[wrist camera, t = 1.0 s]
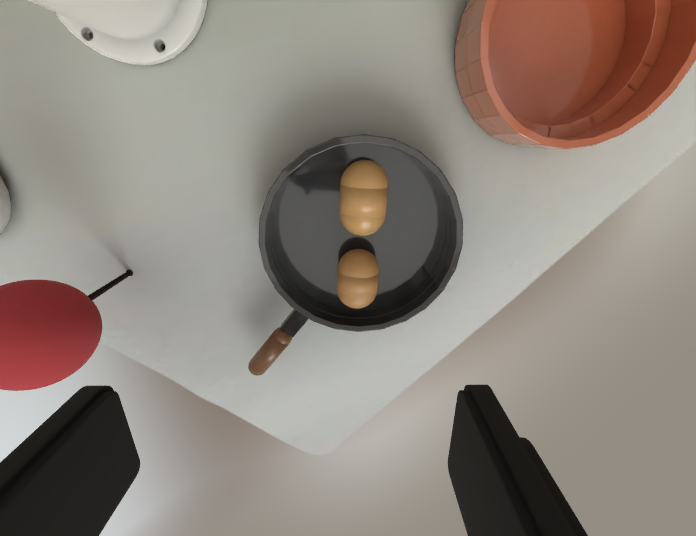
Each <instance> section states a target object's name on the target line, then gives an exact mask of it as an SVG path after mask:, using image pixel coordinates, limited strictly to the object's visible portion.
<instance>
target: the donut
mask: <svg viewBox="0 0 696 536" xmlns="http://www.w3.org/2000/svg"><path fill="white" fill-rule="evenodd" d="M11 209H12V206H11V201H10V196H9V192H8V189H7V188H6V186H5V184H4V182H3V180H2V178H1V176H0V233H1V232H2V231H3V229H4V228H5V227H6V225H7V224H8V222H9V221H10V215H11Z"/></svg>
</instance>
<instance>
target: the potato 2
mask: <svg viewBox="0 0 696 536" xmlns="http://www.w3.org/2000/svg"><path fill="white" fill-rule="evenodd" d="M378 278H379V265H378V262H377V260H376V258H375V257H374V255H373V254H371V253H370V252H369V251H367V250H364V249H353V250H350V251H348V252H347V253H345V254H344V255H343V256H342V258H341V259H340V261H339V264H338V272H337V293H338V296H339V298H340V300H341V301H342V302H343V303H344V304H345V305H346V306H348V307H350V308H356V309H359V308H364V307H366V306H368V305H369V304H370V303H372V301H373V300H374V299H375V296H376V294H377V288H378Z"/></svg>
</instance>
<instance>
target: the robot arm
mask: <svg viewBox="0 0 696 536" xmlns="http://www.w3.org/2000/svg"><path fill="white" fill-rule="evenodd" d="M28 1H31V2H33V3H35V4H38V5H40V6H42V7H45V8H47V9H49V10H52V11H54V13H55V14H56V15H57V17H58V18H59V20H60V21H61V22H62V23H63V24H64V25H65V26H66V27H67V28H68V30H69V31H70V32H71V33H72V34H73V35H74V36H76V37H77V38H78V39H79V40H80V41H82V42H83V43H84V44H85V45H87V46H88V47H90V48H91V49H93V50H95V51H97V52H98V53H100V54H102V55H104V56H106V57H109V58H111V59H114V60H117V61H120V62H124V63H128V64H132V65H146V66H148V65H153V64H159V63H163V62H165V61H167V60H170V59H172V58H174V57H176V56H177V55H178V54H179V53H181V52H182V51H183V50H185V49H186V48H187V46H188V45H189V44H190V43H191V42H192V40H193V39H194V38H195V36H196V34H197V32H198V30H199V28H200V26H201V25H202V22H203V18H204V15H205V11H206V8H207V0H28ZM164 45H165V50H164V51H163V46H164ZM139 468H140V459H139V456H138V453H137V450H136V447H135V444H134V441H133V438H132V435H131V432H130V429H129V426H128V423H127V419H126V416H125V413H124V410H123V407H122V404H121V401H120V398H119V395H118V393H117V392H114V390H113V388H112V387H110V386H85V387H83V388H81V389H80V390H79V391H78V392H76V393H75V394H74V395H73V396H72V397H71V398H70V399H69V400H68V401H67V402H66V403H64V404H63V405H62V406H61V407H60V408H59V409H58V410H57V411H56V412H55V413H54V414H53V415H51V416H50V418H48V419H47V420H46V421H45V422H44V423H43V424H42V425H41V426H40V427H39V428H38V429H36V430H35V431H34V432H33V433H32V434H31V435H30V436H29V437H28V438H27V439H25V440H24V441H23V442H22V443H21V444H20V445H19V446H18V447H17V448H16V449H15V450H14V451H12V452H11V453H10V454H9V455H8V456H7V457H6V458H5V459H4V460H3V461H2V462H1V463H0V536H99V534H100V533H101V531H102V530H103V528H104V526H105V525H106V523H107V522H108V520H109V519H110V517H111V516H112V514H113V512H114V511H115V509H116V507H117V506H118V504H119V503H120V501H121V500H122V498H123V497H124V495H125V493H126V492H127V490H128V489H129V487H130V485H131V484H132V482H133V481H134V479H135V477H136V476H137V474H138V471H139ZM448 469H449V474H450V478H451V481H452V485H453V488H454V491H455V495H456V498H457V501H458V504H459V508H460V511H461V514H462V517H463V521H464V524H465V527H466V531H467V534H468V536H588V535H587V534H586V532H585V530H584V529H583V527H582V525H581V524H580V522H579V521H578V519H577V517H576V516H575V514H574V512H573V511H572V509H571V507H570V506H569V504H568V502H567V501H566V499H565V497H564V496H563V494H562V492H561V491H560V489H559V487H558V486H557V484H556V483H555V481H554V479H553V478H552V476H551V474H550V473H549V471H548V469H547V468H546V466H545V464H544V463H543V461H542V459H541V458H540V456H539V455H538V453H537V451H536V450H535V448H534V447H533V445H532V444H531V442H530V441H529V440H527V439H526V438H519V436H518V435H517V433H516V431H515V429H514V428H513V426H512V424H511V422H510V420H509V419H508V417H507V415H506V414H505V412H504V410H503V408H502V407H501V405H500V403H499V402H498V400H497V398H496V396H495V395H494V393H493V391H492V389H491V388H490V387H489V386H488V385H466V386H465V388H464V390H461V391H459V392H458V396H457V403H456V409H455V416H454V424H453V430H452V436H451V443H450V450H449V457H448Z"/></svg>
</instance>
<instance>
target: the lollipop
mask: <svg viewBox="0 0 696 536" xmlns="http://www.w3.org/2000/svg"><path fill="white" fill-rule="evenodd" d="M132 275H133V272H132V271H131V270H127V271H126V273H124V274H122V275H121V276H119V277H118V278H116V279H114V280H113V281H111V282H109V283H108V284H106V285H105V286H103V287H101V288H100V289H98V290H96V291H95V292H93V293H92V294H90V295H88V296H87V295H85V294H84V293H83V292H81V291H80V290H78V289H76V288H74V287H72V286H70V285H67V284H64V283H60V282H56V281H49V280H24V281H17V282H12V283H8V284H5V285H2V286H0V389H2V390H14V391H18V390H31V389H37V388H41V387H45V386H48V385H51V384H54V383H56V382H59V381H61V380H63V379H65V378H66V377H68V376H70V375H71V374H73V373H74V372H76V371H77V370H78V369H79V368H81V367H82V366H83V365H84V364H85V363H86V362H87V360H88V359H89V358H90V357H91V355H92V354H93V352H94V350H95V349H96V347H97V345H98V343H99V340H100V337H101V333H102V320H101V316H100V313H99V310H98V308H97V307H96V305H95V304H94V302H93V301H92V300H94V299H95V298H97V297H98V296H100V295H101V294H103V293H104V292H106V291H107V290H109V289H110V288H112V287H113V286H115V285H116V284H118V283H119V282H121V281H122V280H124V279H125V278H127V277H128V276H132Z"/></svg>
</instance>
